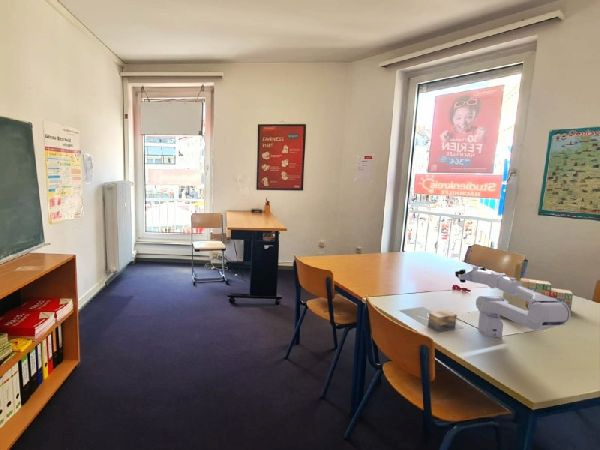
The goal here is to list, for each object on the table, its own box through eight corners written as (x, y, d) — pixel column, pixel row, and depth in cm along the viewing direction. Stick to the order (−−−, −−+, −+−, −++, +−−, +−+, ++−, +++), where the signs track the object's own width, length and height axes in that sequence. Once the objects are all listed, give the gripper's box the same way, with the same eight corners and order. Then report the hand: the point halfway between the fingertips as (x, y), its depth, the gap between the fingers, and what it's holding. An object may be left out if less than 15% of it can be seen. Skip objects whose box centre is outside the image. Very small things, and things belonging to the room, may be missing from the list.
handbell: (521, 325, 150) (529, 269, 146) (486, 313, 162) (493, 261, 159) (537, 318, 158) (545, 265, 155) (503, 307, 171) (509, 258, 167)
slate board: (463, 330, 142) (463, 327, 142) (437, 335, 137) (438, 332, 137) (422, 309, 164) (422, 306, 164) (398, 312, 159) (398, 310, 158)
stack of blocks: (567, 308, 173) (571, 284, 171) (570, 312, 167) (574, 288, 165) (517, 300, 182) (520, 277, 181) (518, 303, 177) (521, 280, 175)
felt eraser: (446, 321, 148) (447, 310, 147) (455, 326, 144) (456, 314, 143) (428, 324, 144) (429, 313, 143) (437, 329, 140) (438, 317, 139)
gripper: (498, 266, 145) (478, 263, 158) (466, 269, 143) (448, 265, 157) (499, 282, 145) (479, 278, 158) (467, 286, 143) (449, 281, 157)
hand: (464, 273), depth 157 cm, fingers open, 7 cm apart
